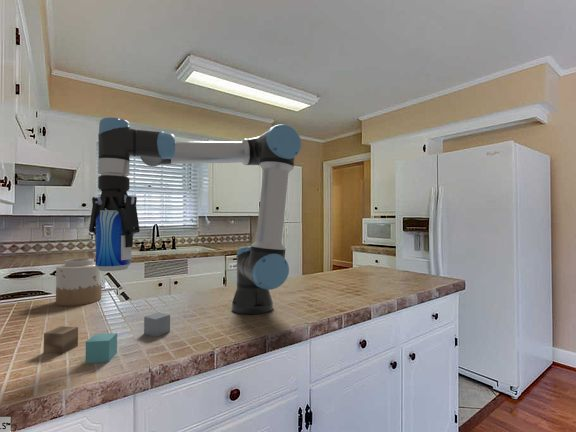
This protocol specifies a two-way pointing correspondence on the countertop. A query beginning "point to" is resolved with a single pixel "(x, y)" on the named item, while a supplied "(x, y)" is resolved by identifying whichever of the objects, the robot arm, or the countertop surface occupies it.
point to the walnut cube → (60, 340)
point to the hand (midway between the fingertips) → (113, 258)
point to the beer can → (109, 242)
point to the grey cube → (156, 324)
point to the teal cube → (101, 348)
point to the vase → (78, 282)
